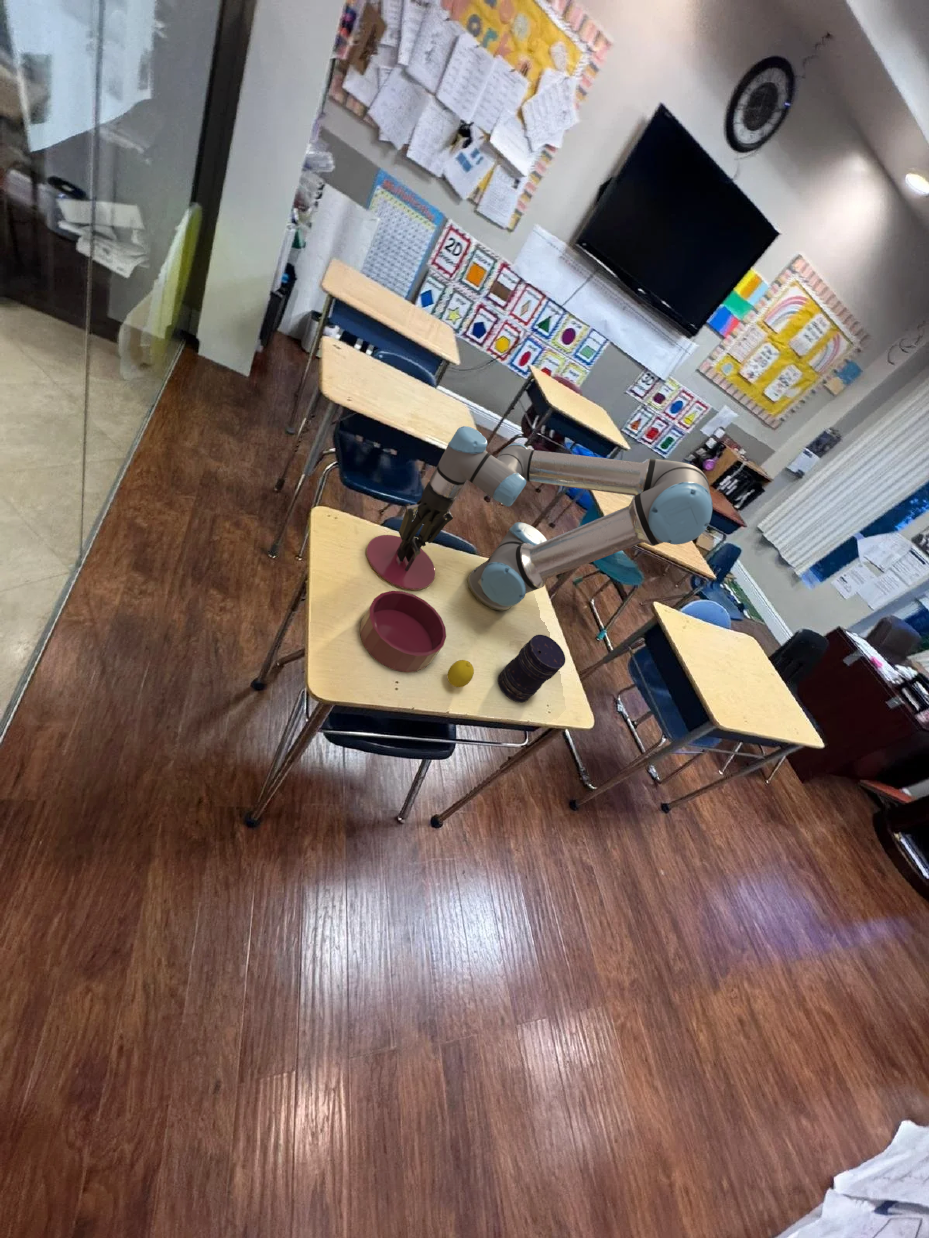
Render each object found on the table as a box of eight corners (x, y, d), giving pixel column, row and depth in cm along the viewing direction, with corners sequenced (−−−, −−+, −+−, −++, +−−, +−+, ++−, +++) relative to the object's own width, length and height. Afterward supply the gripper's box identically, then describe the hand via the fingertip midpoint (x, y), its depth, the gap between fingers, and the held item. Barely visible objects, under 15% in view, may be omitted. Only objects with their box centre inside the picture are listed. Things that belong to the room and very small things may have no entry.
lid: (420, 541, 149) (433, 518, 143) (443, 593, 139) (458, 570, 133) (357, 534, 137) (369, 508, 132) (377, 589, 127) (391, 564, 122)
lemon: (460, 697, 118) (477, 678, 113) (439, 686, 117) (455, 666, 112) (464, 680, 122) (481, 660, 117) (444, 669, 121) (460, 649, 116)
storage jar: (519, 667, 134) (552, 633, 125) (537, 699, 130) (572, 666, 120) (490, 671, 128) (523, 635, 119) (508, 705, 123) (543, 670, 114)
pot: (419, 609, 130) (430, 592, 126) (444, 670, 121) (457, 654, 117) (351, 607, 119) (360, 589, 115) (372, 674, 110) (383, 657, 106)
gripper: (462, 483, 128) (422, 550, 143) (411, 473, 119) (374, 545, 134) (473, 504, 124) (431, 570, 139) (421, 494, 116) (382, 566, 130)
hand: (403, 558), depth 137 cm, fingers closed on lid, 2 cm apart
